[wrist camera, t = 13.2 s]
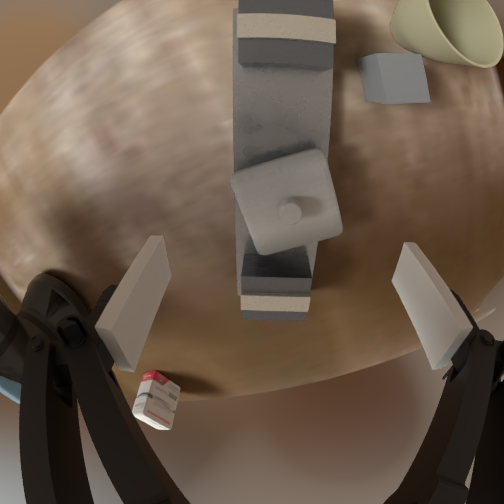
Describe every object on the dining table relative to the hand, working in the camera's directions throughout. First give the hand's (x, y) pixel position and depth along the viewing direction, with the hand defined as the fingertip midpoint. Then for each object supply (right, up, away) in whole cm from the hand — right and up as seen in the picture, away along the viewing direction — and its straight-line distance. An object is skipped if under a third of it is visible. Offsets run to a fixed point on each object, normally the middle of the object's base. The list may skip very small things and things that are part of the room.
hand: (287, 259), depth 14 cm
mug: (+15, +26, +4) cm, 31 cm away
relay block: (+12, +19, +9) cm, 25 cm away
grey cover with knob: (0, +10, +14) cm, 17 cm away
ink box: (-23, -30, +43) cm, 57 cm away
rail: (+1, +10, +15) cm, 18 cm away
